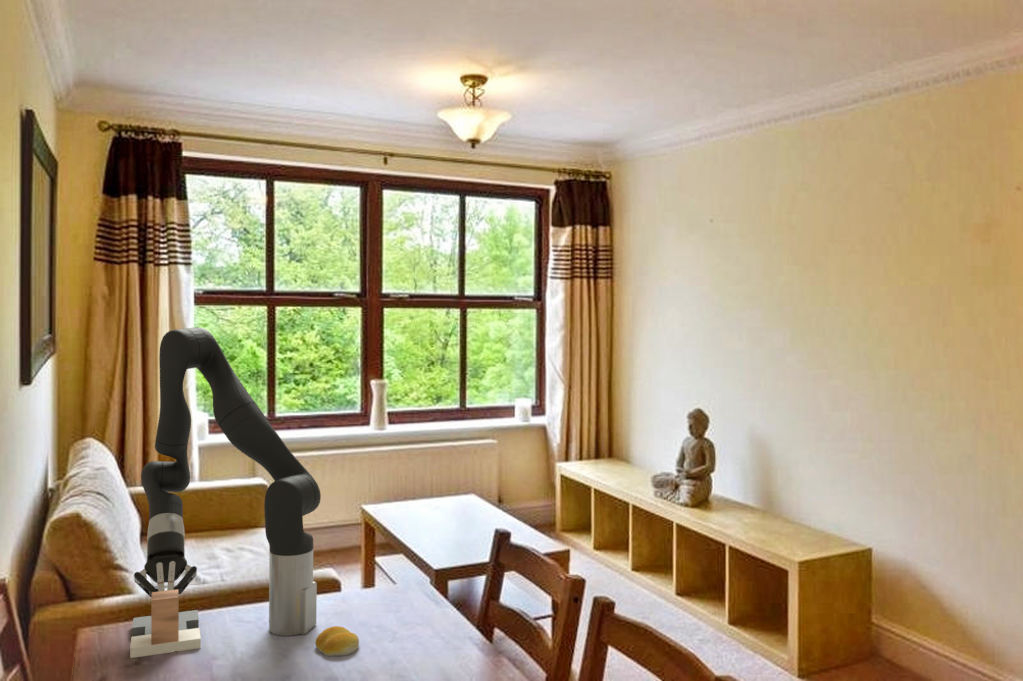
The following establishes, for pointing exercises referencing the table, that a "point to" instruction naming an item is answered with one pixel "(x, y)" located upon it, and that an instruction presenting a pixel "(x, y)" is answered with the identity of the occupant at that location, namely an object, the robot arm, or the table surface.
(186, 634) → the pad
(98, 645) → the table surface
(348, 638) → the bread roll
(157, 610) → the block
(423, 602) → the table surface
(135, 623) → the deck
